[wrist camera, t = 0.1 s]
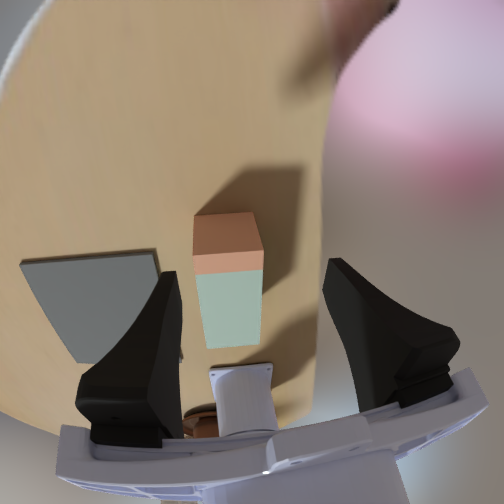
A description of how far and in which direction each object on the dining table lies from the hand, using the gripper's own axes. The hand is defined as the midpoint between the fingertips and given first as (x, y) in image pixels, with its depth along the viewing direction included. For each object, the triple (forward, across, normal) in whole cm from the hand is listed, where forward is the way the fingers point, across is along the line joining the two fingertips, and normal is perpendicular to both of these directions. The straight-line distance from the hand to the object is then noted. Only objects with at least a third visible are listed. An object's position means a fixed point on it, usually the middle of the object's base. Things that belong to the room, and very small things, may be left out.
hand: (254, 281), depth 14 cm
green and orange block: (+10, +1, +7) cm, 12 cm away
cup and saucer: (+10, +5, +41) cm, 43 cm away
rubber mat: (+10, +14, +13) cm, 21 cm away
